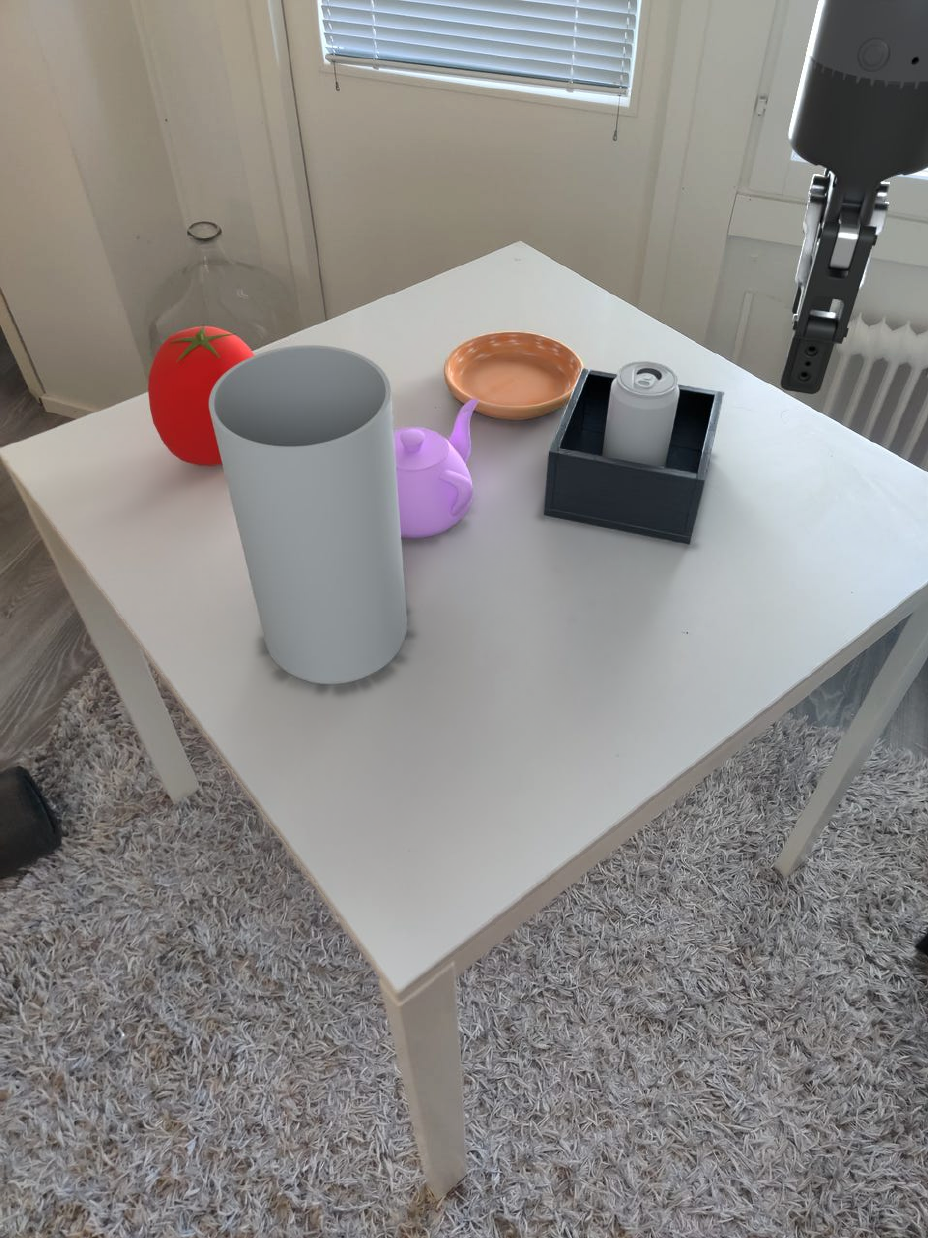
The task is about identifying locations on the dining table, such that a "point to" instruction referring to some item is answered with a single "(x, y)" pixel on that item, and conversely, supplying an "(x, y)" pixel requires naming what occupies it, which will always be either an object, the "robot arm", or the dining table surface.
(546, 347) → the saucer
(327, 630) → the cylinder vase
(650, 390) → the beverage can
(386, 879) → the dining table surface
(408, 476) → the teapot
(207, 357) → the tomato
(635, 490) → the dark gray open box
